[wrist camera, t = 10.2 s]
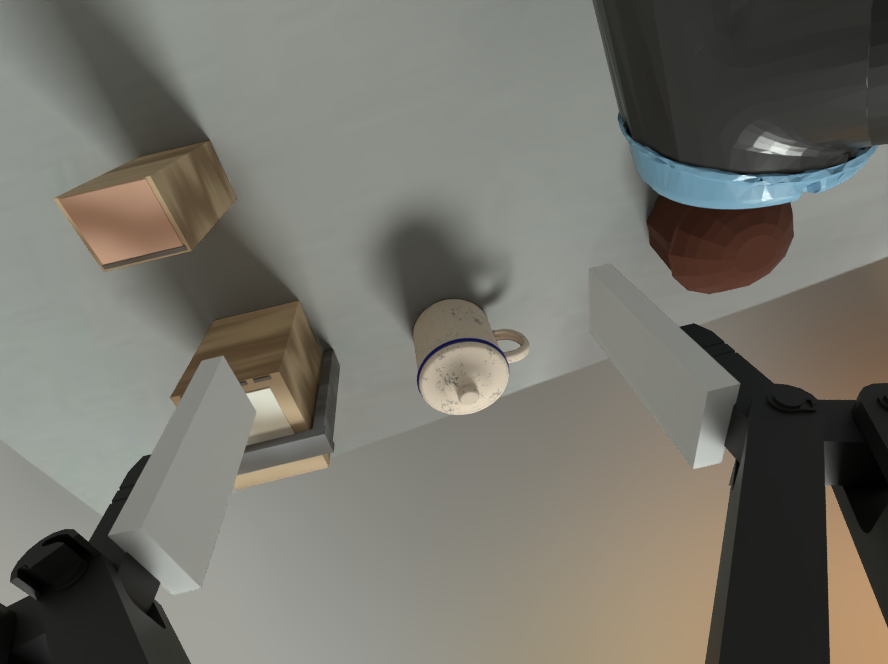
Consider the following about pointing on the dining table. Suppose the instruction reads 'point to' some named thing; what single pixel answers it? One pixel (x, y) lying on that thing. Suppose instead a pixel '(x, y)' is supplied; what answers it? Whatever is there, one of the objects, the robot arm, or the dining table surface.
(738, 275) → the muffin
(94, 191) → the pink-ended wooden block
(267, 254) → the dining table surface
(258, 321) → the tan wooden crate
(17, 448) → the dining table surface
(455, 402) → the teacup with lid
